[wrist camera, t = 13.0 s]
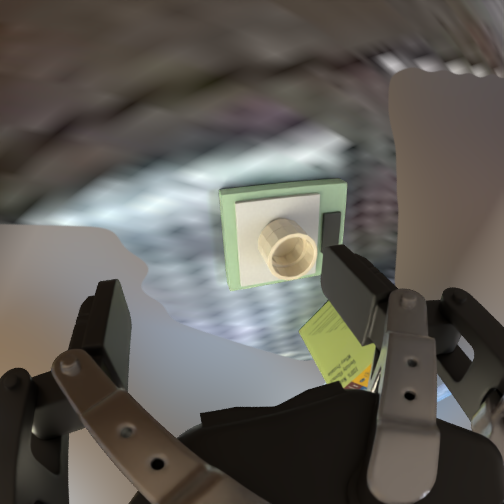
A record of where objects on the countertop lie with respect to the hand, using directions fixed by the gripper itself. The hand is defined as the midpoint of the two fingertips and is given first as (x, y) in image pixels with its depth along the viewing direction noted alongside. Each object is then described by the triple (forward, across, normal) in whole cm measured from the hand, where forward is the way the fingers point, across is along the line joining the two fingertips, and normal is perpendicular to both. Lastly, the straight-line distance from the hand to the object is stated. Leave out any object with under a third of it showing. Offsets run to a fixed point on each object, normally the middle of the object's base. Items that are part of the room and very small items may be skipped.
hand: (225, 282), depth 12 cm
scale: (+28, -12, +12) cm, 33 cm away
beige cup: (+25, -10, +12) cm, 29 cm away
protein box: (+28, -24, +30) cm, 48 cm away
